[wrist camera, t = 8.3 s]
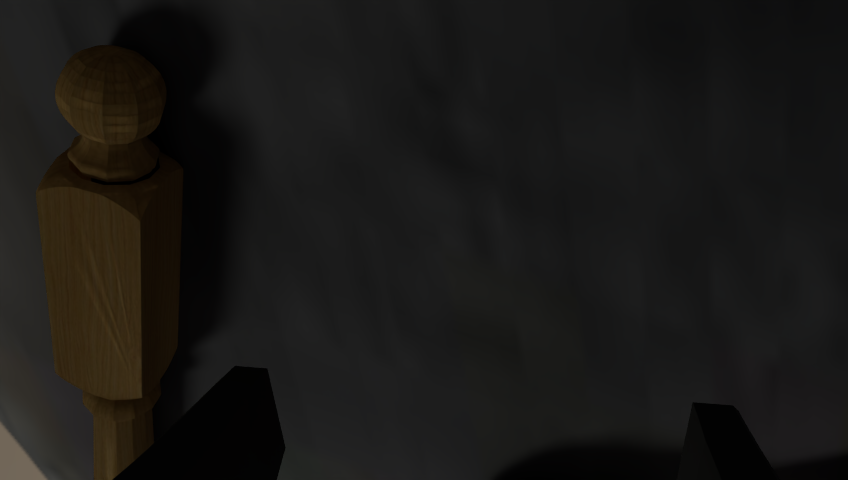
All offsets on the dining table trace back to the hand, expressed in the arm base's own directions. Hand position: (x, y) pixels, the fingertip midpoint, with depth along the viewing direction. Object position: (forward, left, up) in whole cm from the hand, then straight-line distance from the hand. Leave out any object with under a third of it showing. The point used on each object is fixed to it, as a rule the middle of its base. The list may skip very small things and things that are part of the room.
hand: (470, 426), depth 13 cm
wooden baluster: (+10, +15, -10) cm, 21 cm away
